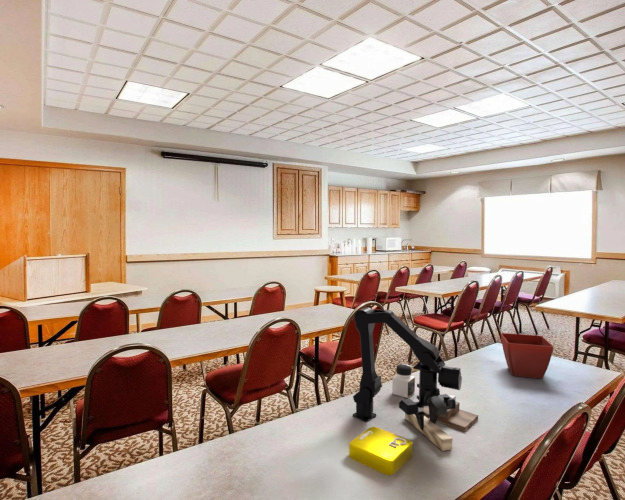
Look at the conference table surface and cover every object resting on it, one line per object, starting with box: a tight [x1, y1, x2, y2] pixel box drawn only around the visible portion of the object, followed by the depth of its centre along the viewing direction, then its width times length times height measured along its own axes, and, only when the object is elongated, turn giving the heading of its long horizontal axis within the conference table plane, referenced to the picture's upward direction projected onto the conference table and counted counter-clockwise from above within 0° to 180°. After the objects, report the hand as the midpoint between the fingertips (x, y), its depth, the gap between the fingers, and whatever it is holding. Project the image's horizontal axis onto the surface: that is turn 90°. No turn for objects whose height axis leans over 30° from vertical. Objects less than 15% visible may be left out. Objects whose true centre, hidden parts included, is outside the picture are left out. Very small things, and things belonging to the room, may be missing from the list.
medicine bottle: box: [391, 363, 416, 399], centre depth 160 cm, size 7×7×12 cm
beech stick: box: [404, 412, 453, 452], centre depth 129 cm, size 22×4×4 cm, turn 17°
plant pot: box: [500, 332, 554, 380], centre depth 186 cm, size 19×19×17 cm
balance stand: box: [423, 394, 479, 432], centre depth 140 cm, size 12×18×6 cm, turn 47°
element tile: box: [348, 426, 413, 476], centre depth 116 cm, size 15×15×5 cm
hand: (426, 428), depth 129 cm, fingers closed on beech stick, 3 cm apart
